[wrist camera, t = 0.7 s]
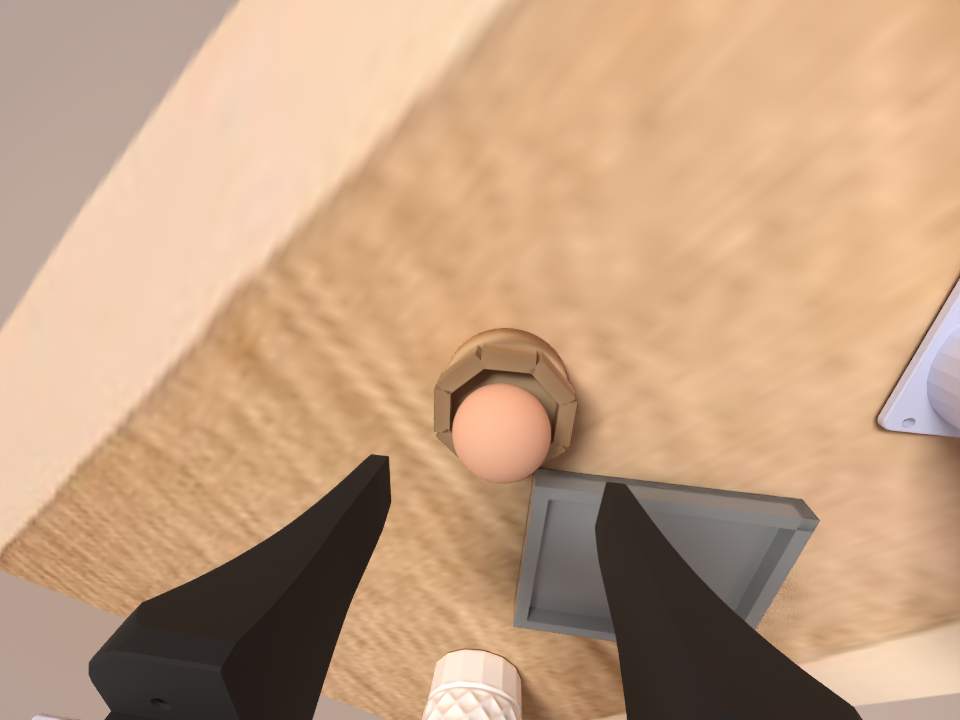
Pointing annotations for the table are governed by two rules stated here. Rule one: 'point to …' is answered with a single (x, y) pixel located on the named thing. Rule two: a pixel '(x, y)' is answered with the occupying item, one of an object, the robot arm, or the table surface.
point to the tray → (686, 525)
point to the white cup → (474, 688)
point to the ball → (501, 433)
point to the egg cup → (507, 381)
